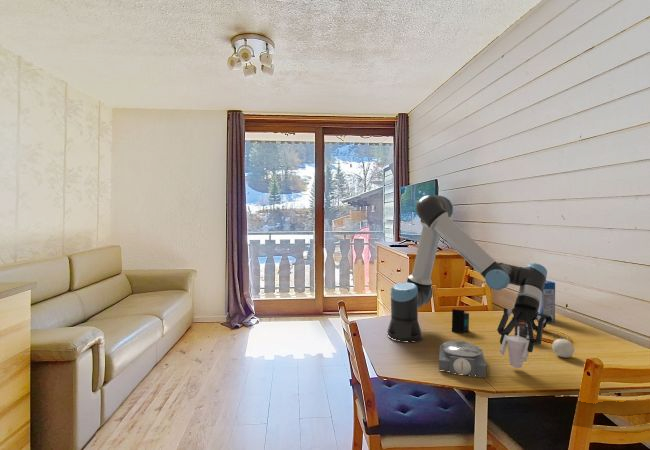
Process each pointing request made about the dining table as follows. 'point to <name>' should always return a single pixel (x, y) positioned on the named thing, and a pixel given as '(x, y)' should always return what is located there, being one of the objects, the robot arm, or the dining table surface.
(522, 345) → the smoothie
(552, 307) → the milk carton
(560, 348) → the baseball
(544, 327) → the controller
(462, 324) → the speaker
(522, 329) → the supplement bottle
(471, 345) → the scale pan
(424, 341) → the dining table surface
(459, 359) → the scale base
